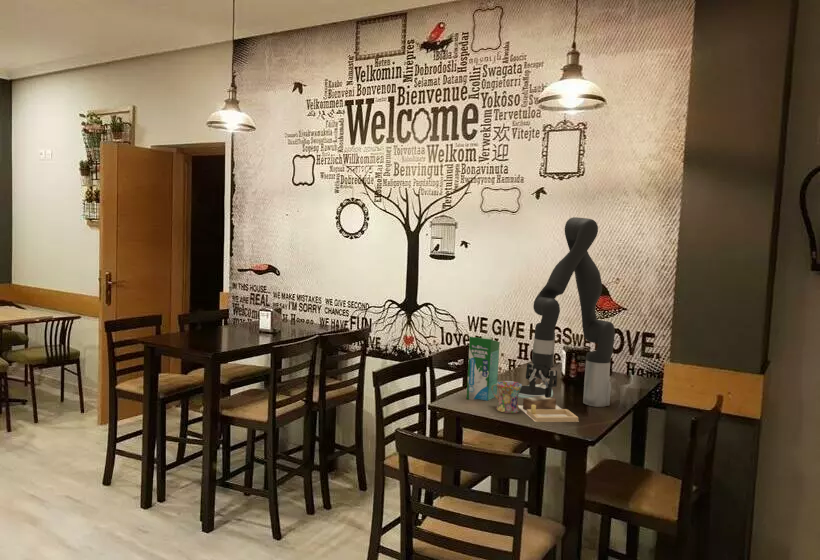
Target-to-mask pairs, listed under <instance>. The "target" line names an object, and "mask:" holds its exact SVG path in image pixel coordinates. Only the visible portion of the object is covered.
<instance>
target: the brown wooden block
mask: <svg viewBox="0 0 820 560" xmlns="http://www.w3.org/2000/svg"><path fill="white" fill-rule="evenodd" d="M522 401H523V402H522V405H523V409H524V410H527V409H531V405H536V409H556V405H557V399H556V398H553V396H552V397H550V398H546V397H545V396H538V397H529V398H522Z"/></svg>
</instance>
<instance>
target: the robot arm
mask: <svg viewBox="0 0 820 560" xmlns="http://www.w3.org/2000/svg"><path fill="white" fill-rule="evenodd" d="M564 225H565V226H564V235H565V239H566V240H565V241H566V243H567V246H568V249H569V251H568V253H567V254H566V255H565V256H564V257H563V258H562V259H561V260H559V262H557V264H556V265H555V267H554V268H553V269H552V271H551V273H550V275H549V276H548V277H549V278H548V280H547V283H546V284H545V286H543V287H542V289H541V290H540V292H538V294H537V296H536V297H535V299H534V301H533V310H534V311H533V312H534V313H535V314H537V315H539V316H541V320H540V322H537V323H536V325H535V326H534V327H535V328H534V339H533V343H532V359H531V362H532V363H527V364H526V372H525V379H526V380H528V382H529V384H528V385H529V391H530V392H535V385H536V381H537V380H538V379H540V380H542V383H544V385H546V388H545V397H546V398H550V397H551V392H552V390H553V388H556V387H557V386H558V370H552V367H551V365H552V364H553V365H554V362H553V352H554V353H555V346H554V331H555V328H556V326H557V323H558V320H559V316H560V312H561V307H560V303H559V302H558V300H557V299H556V298H557V296H561V295H563V294H564V293H565V291H566V289H567V286H568V284H569V282H570V280H571V278H572V276H573V274H574V276H575V277H574V278H575V283H576V288H577V292H578V299H579V304H580V305H579V306H580V312H581V325H582V334H583V337H584V338H585V340H586V341H587V342H589V343H593V344H596V345H597V347H596V349H595V350H592V351H588V352H586V355H585V369H584V382H583V385H584V386H583V397H582V399H583V400H582V403H583V404H585V405H587V406H590V407H596V408H604V407H606V406H608V407H610V404H611V403H610V402H611V401H610V400H611V391H612V390H611V389H612V382H611V381H610V371H611V370H610V369H611V359H612V356H613V352H614V343H615V337H616V336H615V335H616V330H615V325H614V324H613V323H612V322H611V321H607V320H601V319H598V318H597V313H596V306H597V303H598V301H599V299H600V297H601V294H602V291H603V285H602V278H601V272H600V270H599V267H598V266H597V265H596V263H595V262H594V260H593V258H592V257H591V255H590V254H589V252H588V251H589V250H590V247H592V245H593V243H594V242H595V240H596V238H597V236H598V232H599V226H598V223H597V222H596V221H595V220H594V219H591V218H585V217H570V218H569V219H567V221H566V222H565V224H564Z"/></svg>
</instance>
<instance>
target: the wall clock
mask: <svg viewBox="0 0 820 560" xmlns="http://www.w3.org/2000/svg"><path fill="white" fill-rule="evenodd" d="M545 388H546V385H545V383H544V382H540V384H539V383H538V384H536V385H535V392H530V391H529V384H528V385H522V387H521V389H520V392H519V395H518V398H519V399H523V398H529V397H538V396H545ZM553 396H554V390H553V389H552V392H551V397H552V398H553Z"/></svg>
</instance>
